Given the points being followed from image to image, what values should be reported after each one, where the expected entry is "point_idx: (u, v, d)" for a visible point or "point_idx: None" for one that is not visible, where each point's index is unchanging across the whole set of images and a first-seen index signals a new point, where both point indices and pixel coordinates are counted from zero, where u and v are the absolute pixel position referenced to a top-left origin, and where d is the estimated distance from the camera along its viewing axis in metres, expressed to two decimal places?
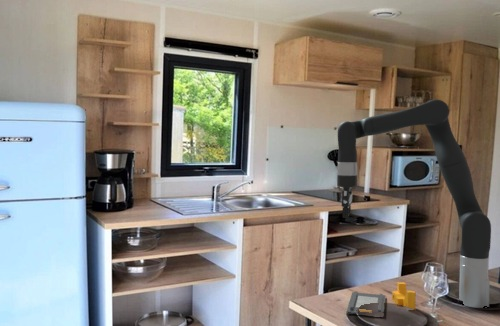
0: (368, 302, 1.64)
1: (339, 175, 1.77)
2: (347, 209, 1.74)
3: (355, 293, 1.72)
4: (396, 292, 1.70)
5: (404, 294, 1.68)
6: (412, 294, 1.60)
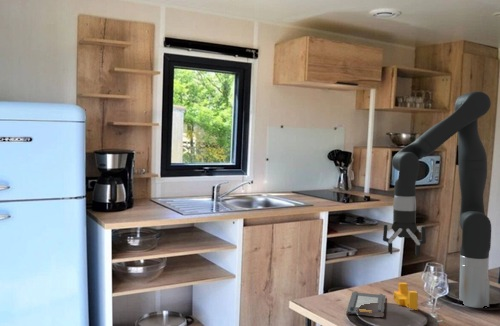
0: (368, 302, 1.64)
1: (412, 211, 1.61)
2: None
3: (355, 293, 1.72)
4: (397, 292, 1.70)
5: (405, 294, 1.68)
6: (414, 295, 1.60)
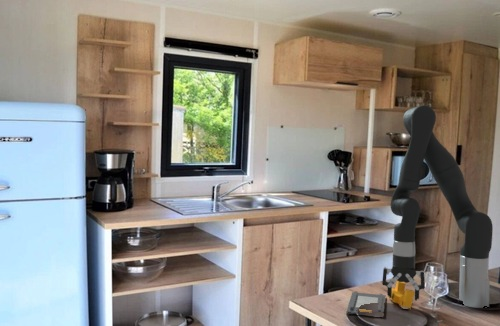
0: (368, 302, 1.64)
1: (411, 256, 1.62)
2: None
3: (355, 293, 1.72)
4: (394, 289, 1.70)
5: (401, 293, 1.68)
6: (410, 293, 1.60)
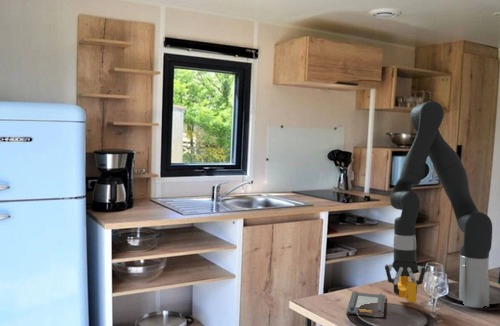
0: (368, 302, 1.64)
1: (413, 250, 1.61)
2: None
3: (355, 293, 1.72)
4: (398, 284, 1.70)
5: (406, 286, 1.67)
6: (412, 285, 1.59)
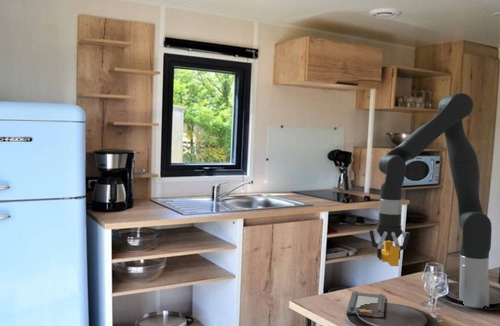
0: (368, 302, 1.64)
1: (397, 214, 1.61)
2: None
3: (355, 293, 1.72)
4: (383, 249, 1.70)
5: None
6: (395, 249, 1.59)
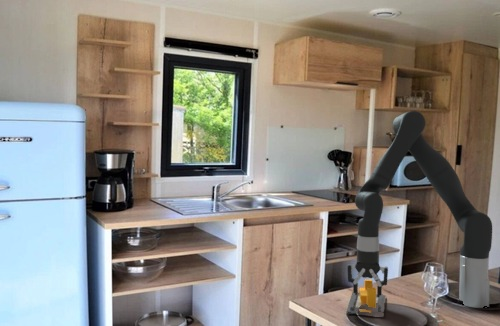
0: None
1: (375, 251, 1.61)
2: None
3: None
4: (362, 289, 1.69)
5: None
6: (372, 291, 1.58)
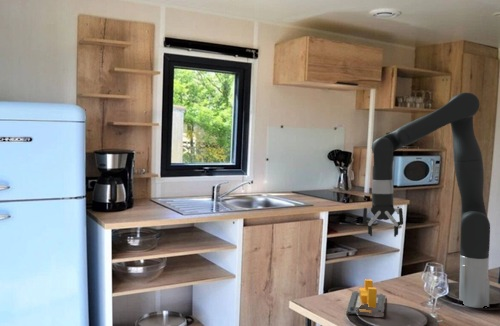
0: None
1: (390, 193, 1.69)
2: None
3: (355, 293, 1.72)
4: (363, 289, 1.69)
5: None
6: (373, 291, 1.58)
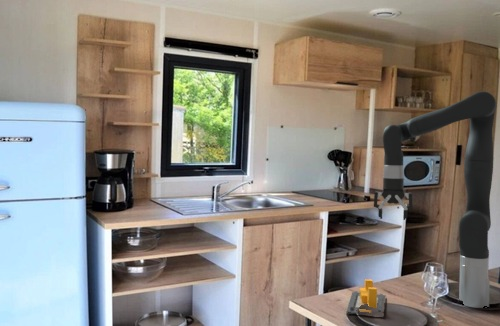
0: None
1: (400, 178, 1.77)
2: None
3: (355, 293, 1.72)
4: (363, 289, 1.69)
5: None
6: (373, 291, 1.58)
